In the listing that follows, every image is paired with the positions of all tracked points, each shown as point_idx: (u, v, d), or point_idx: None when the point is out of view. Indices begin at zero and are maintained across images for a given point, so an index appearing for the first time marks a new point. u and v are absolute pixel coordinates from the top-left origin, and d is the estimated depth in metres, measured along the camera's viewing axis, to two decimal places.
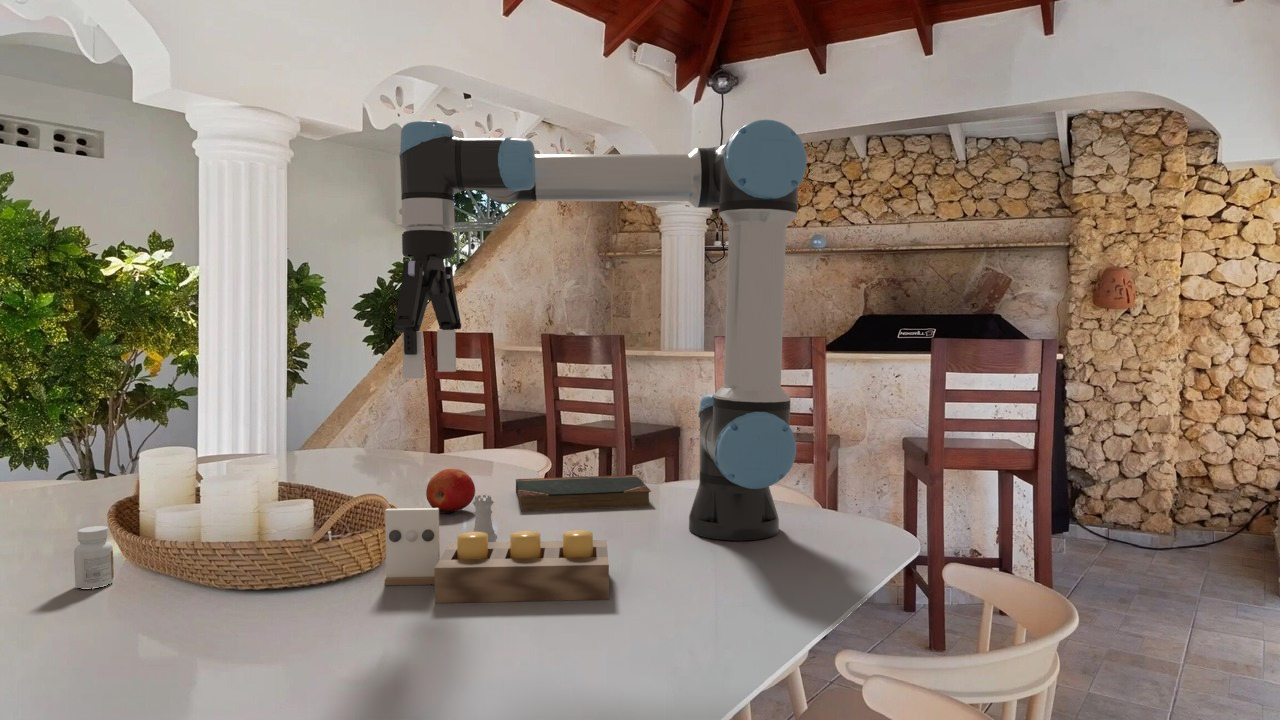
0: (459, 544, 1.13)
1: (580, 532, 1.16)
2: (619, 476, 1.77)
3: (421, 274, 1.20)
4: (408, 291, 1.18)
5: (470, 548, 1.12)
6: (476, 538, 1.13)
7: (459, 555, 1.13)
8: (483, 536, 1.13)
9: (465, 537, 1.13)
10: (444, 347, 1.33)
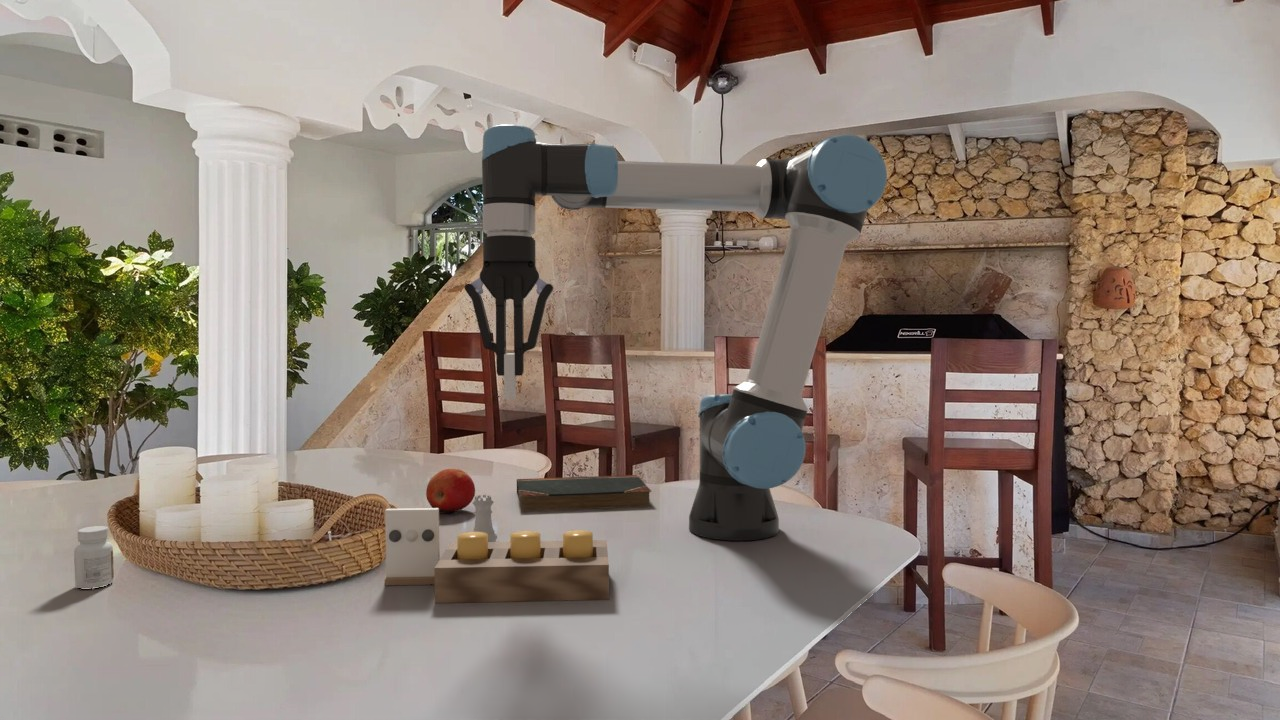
0: (459, 544, 1.13)
1: (580, 532, 1.16)
2: (620, 476, 1.77)
3: (474, 294, 1.23)
4: None
5: (470, 548, 1.12)
6: (476, 538, 1.13)
7: (459, 555, 1.13)
8: (483, 536, 1.13)
9: (465, 537, 1.13)
10: None
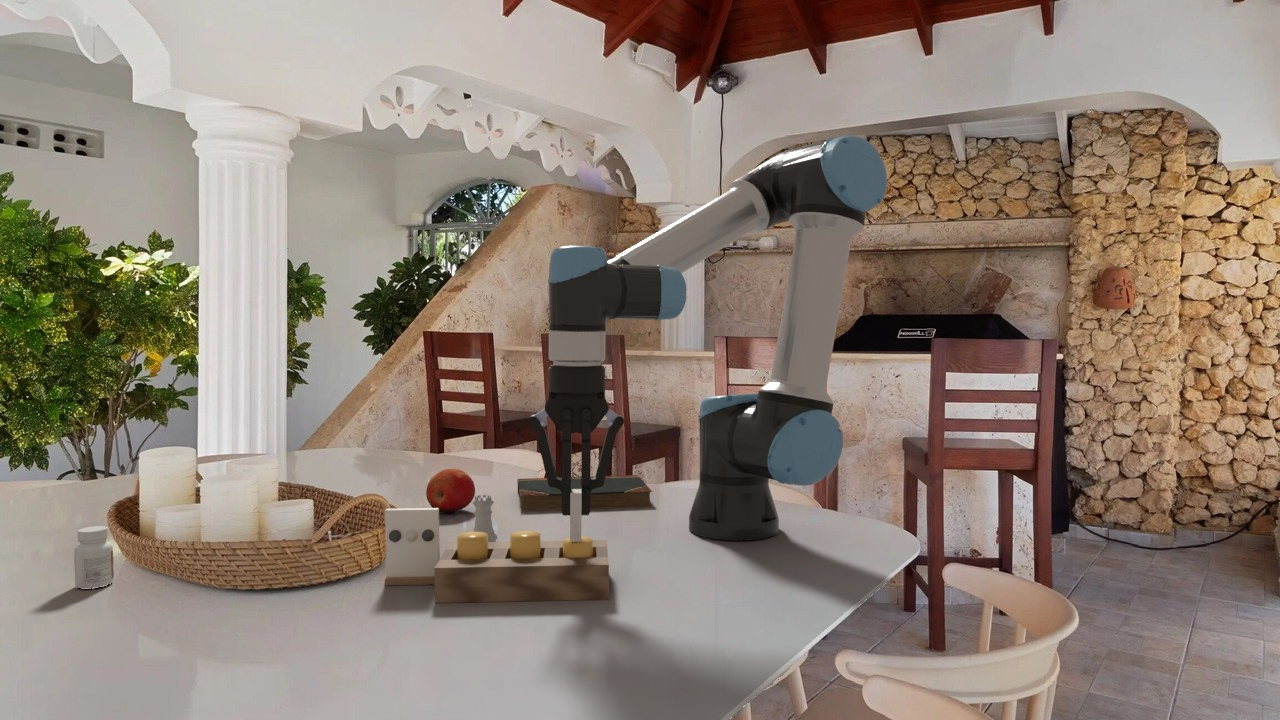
0: (459, 544, 1.13)
1: None
2: (621, 476, 1.77)
3: (539, 428, 1.12)
4: None
5: (470, 548, 1.12)
6: (476, 538, 1.13)
7: (459, 555, 1.13)
8: (483, 536, 1.13)
9: (465, 537, 1.13)
10: None
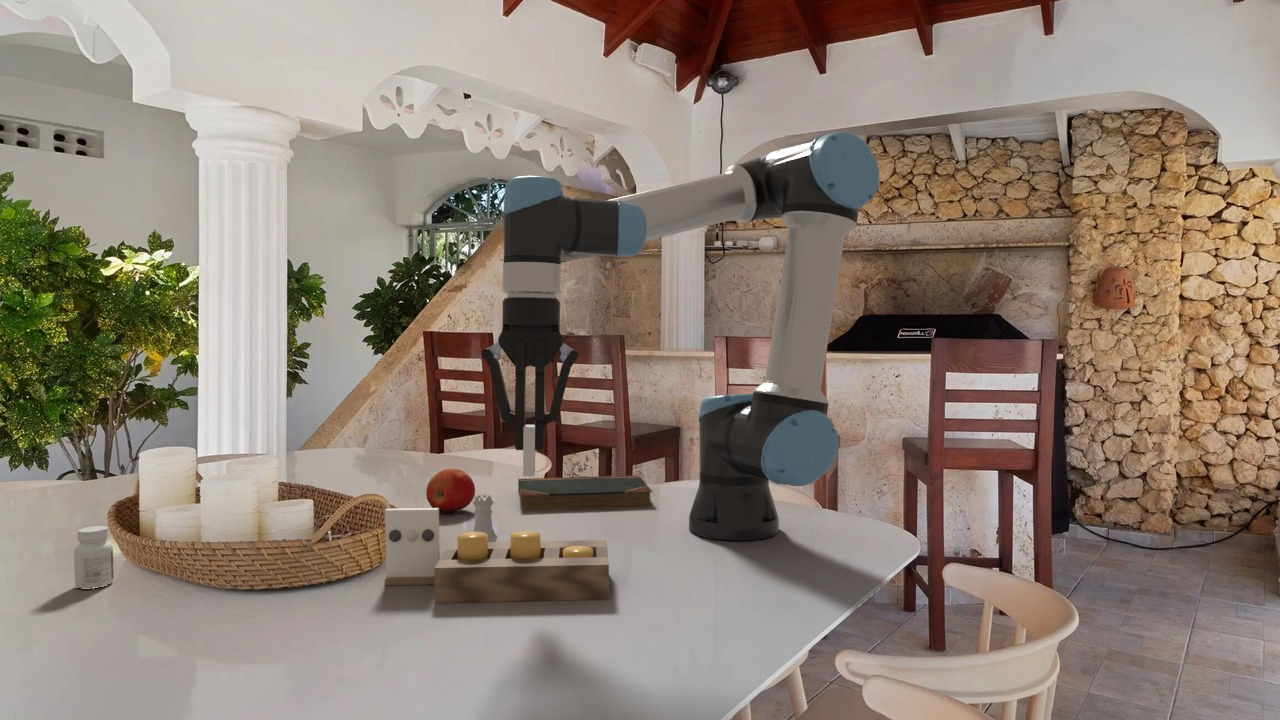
0: (459, 544, 1.13)
1: (580, 548, 1.16)
2: (621, 476, 1.76)
3: (492, 361, 1.11)
4: None
5: (470, 548, 1.12)
6: (476, 538, 1.13)
7: (459, 555, 1.13)
8: (483, 536, 1.13)
9: (465, 537, 1.13)
10: None
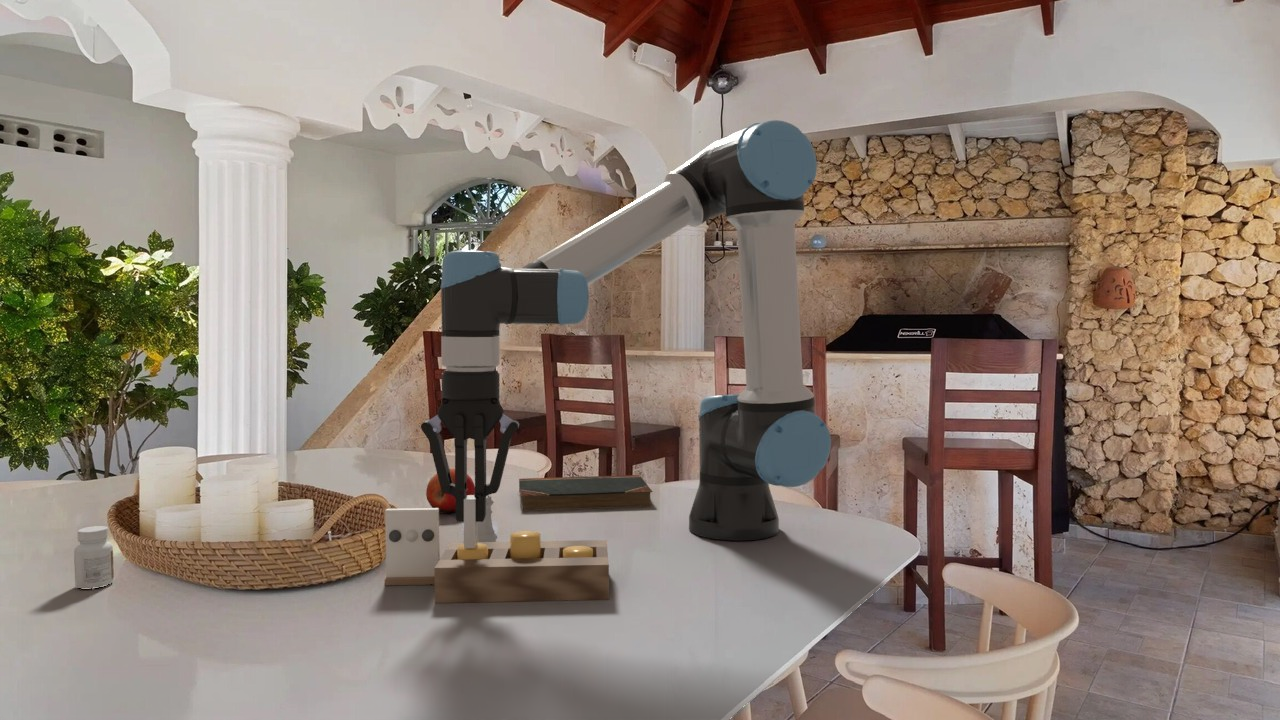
0: (459, 556, 1.13)
1: (580, 548, 1.16)
2: (622, 476, 1.76)
3: (431, 434, 1.12)
4: None
5: None
6: (476, 549, 1.13)
7: None
8: (483, 548, 1.13)
9: (465, 549, 1.13)
10: None
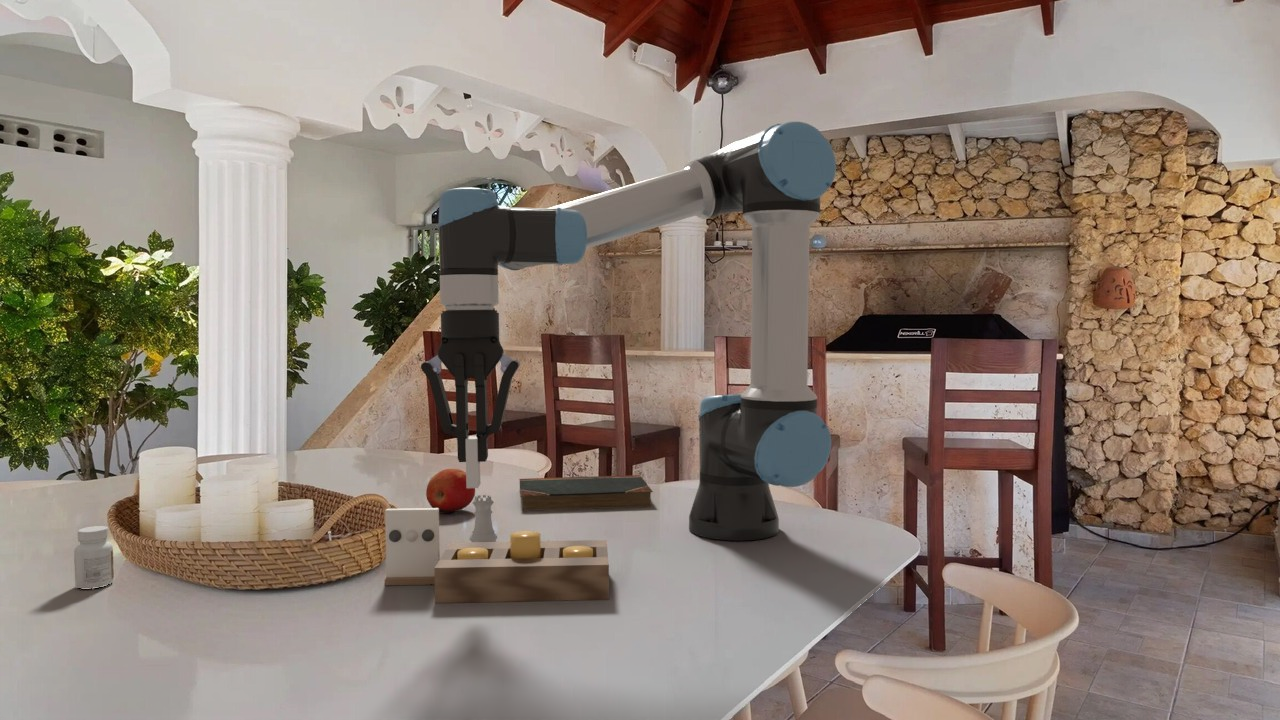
0: None
1: (580, 548, 1.16)
2: (623, 476, 1.76)
3: (432, 374, 1.11)
4: None
5: None
6: (476, 554, 1.13)
7: None
8: (483, 552, 1.14)
9: (465, 553, 1.13)
10: None
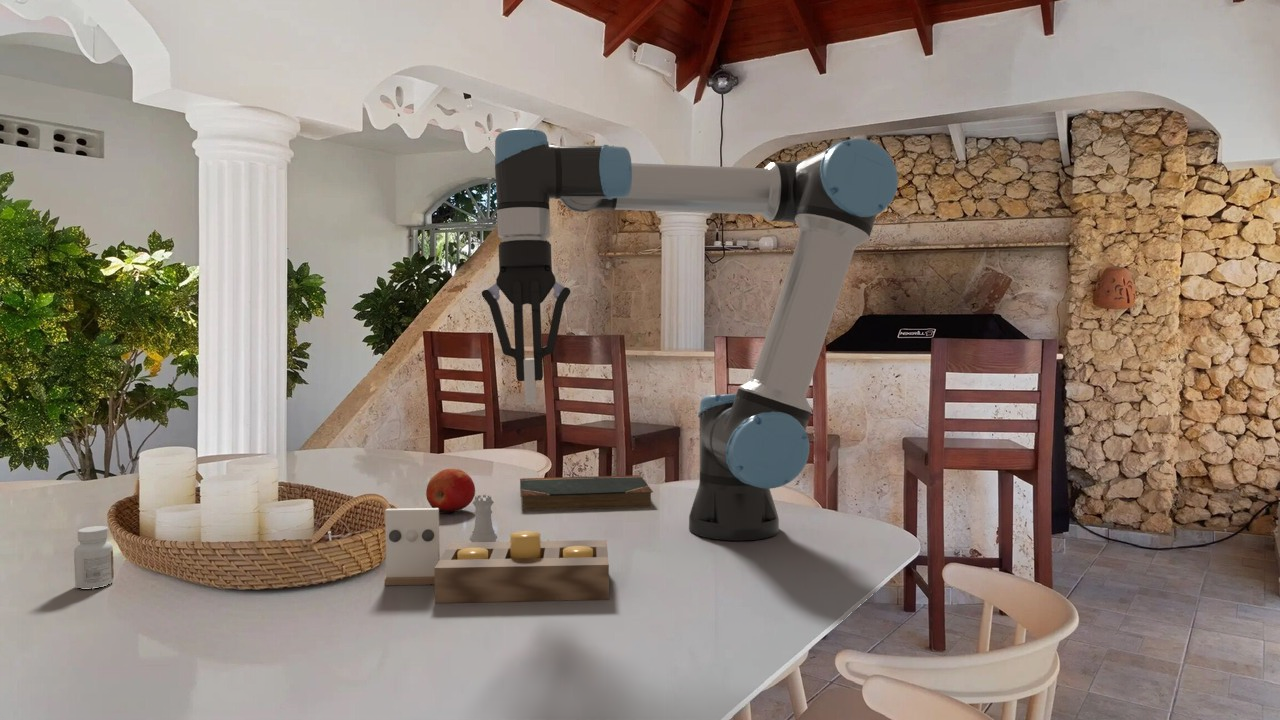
0: None
1: (580, 548, 1.16)
2: (623, 476, 1.76)
3: (492, 300, 1.22)
4: None
5: None
6: (476, 554, 1.13)
7: None
8: (483, 552, 1.14)
9: (465, 553, 1.13)
10: None
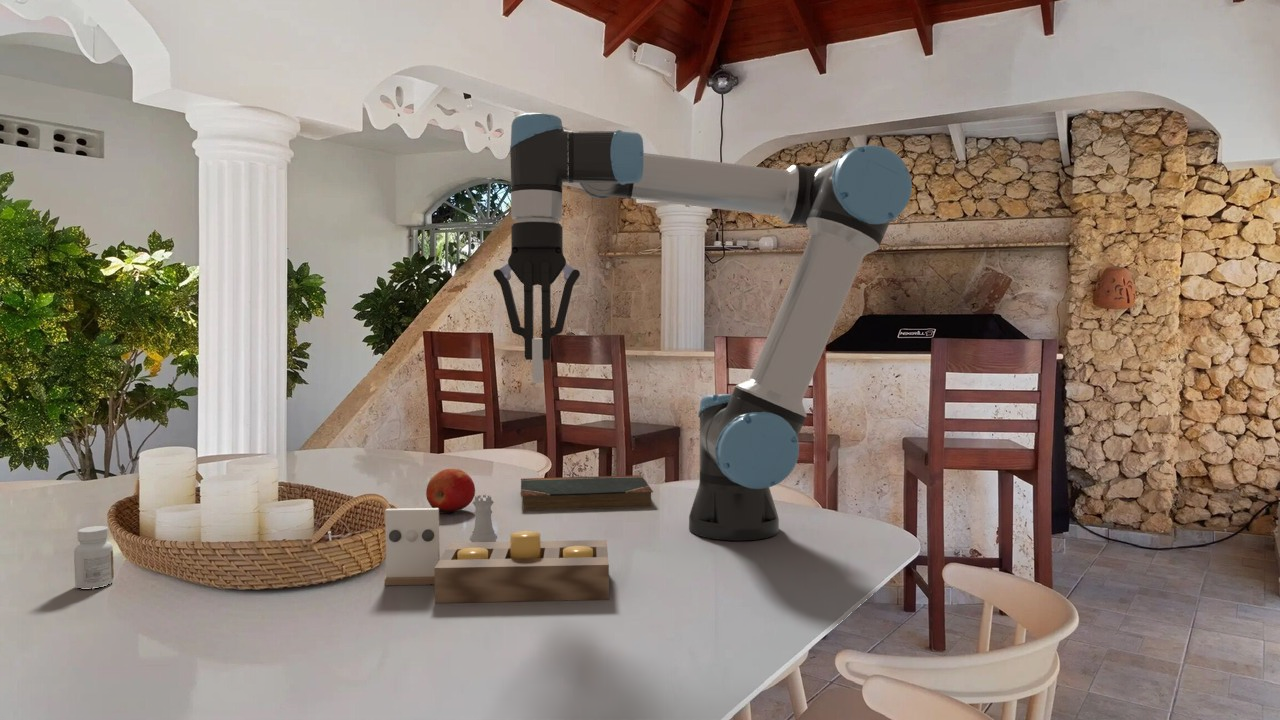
0: None
1: (580, 548, 1.16)
2: (624, 476, 1.76)
3: (503, 280, 1.25)
4: None
5: None
6: (476, 554, 1.13)
7: None
8: (483, 552, 1.14)
9: (465, 553, 1.13)
10: None
